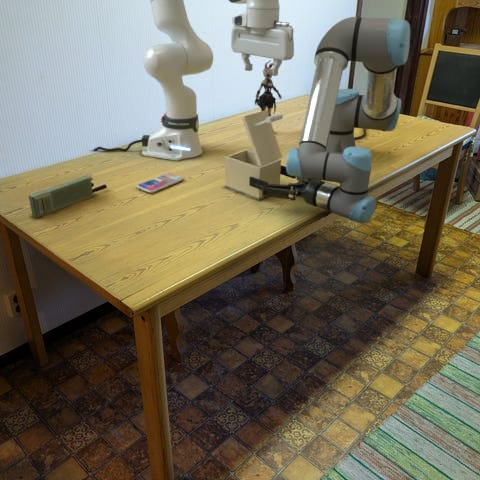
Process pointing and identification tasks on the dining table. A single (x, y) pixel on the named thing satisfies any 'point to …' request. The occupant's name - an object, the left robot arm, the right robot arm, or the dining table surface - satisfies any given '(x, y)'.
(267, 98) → the figurine
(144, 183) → the smartphone
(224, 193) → the dining table surface
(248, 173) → the chest
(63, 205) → the handheld radio
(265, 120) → the lid
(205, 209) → the dining table surface
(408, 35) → the right robot arm
